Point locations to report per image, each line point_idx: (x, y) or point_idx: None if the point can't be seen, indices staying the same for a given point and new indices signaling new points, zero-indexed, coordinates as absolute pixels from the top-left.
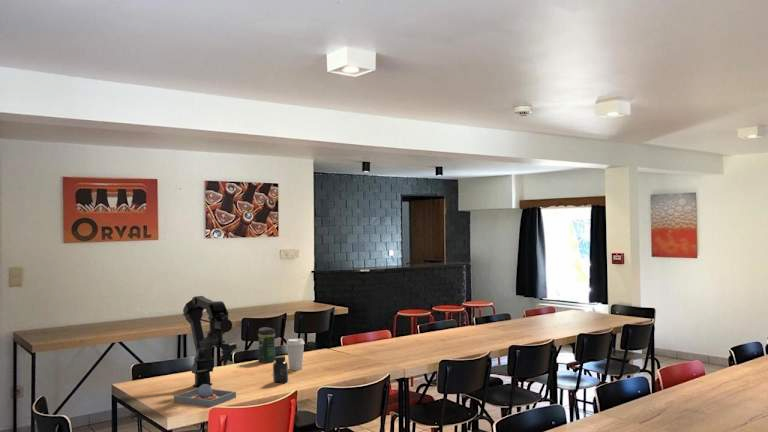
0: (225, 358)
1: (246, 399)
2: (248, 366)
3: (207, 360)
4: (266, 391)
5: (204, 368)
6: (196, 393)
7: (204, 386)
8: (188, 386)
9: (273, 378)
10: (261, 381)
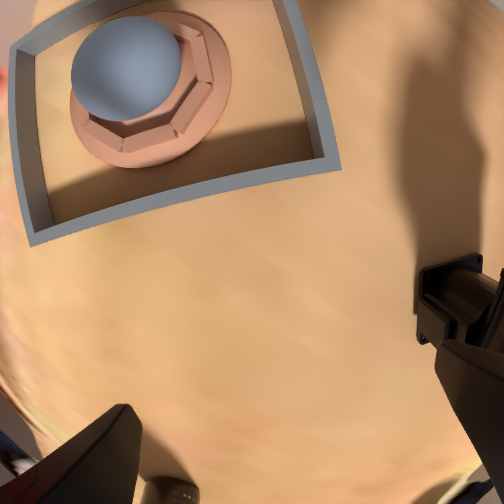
0: (42, 473)
1: (4, 249)
2: (430, 493)
3: (476, 362)
4: (69, 391)
5: (489, 338)
6: (307, 115)
7: (87, 39)
8: (491, 240)
9: (182, 492)
10: (244, 477)
